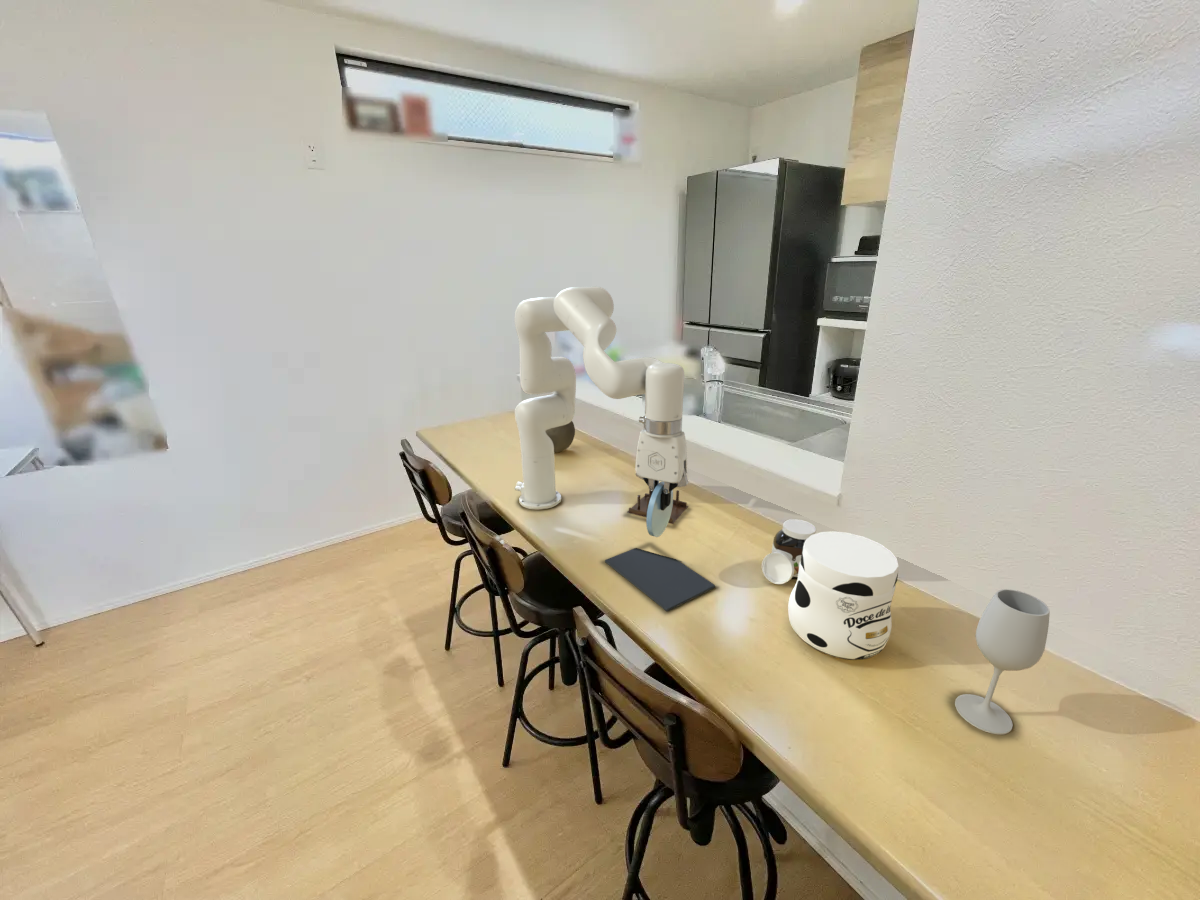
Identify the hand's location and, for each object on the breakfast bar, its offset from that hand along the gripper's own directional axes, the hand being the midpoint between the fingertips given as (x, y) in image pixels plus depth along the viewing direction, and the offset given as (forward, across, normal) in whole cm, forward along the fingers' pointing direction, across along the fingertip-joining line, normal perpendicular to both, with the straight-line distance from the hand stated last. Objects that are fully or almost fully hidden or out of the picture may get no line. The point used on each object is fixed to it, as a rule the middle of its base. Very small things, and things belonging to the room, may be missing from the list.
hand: (660, 506), depth 106 cm
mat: (+17, 0, 0) cm, 17 cm away
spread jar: (+18, +26, +14) cm, 34 cm away
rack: (+17, -12, +28) cm, 35 cm away
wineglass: (+18, +59, -10) cm, 62 cm away
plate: (+7, 0, 0) cm, 7 cm away
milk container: (+18, +37, -2) cm, 41 cm away
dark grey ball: (+17, -65, +55) cm, 87 cm away
